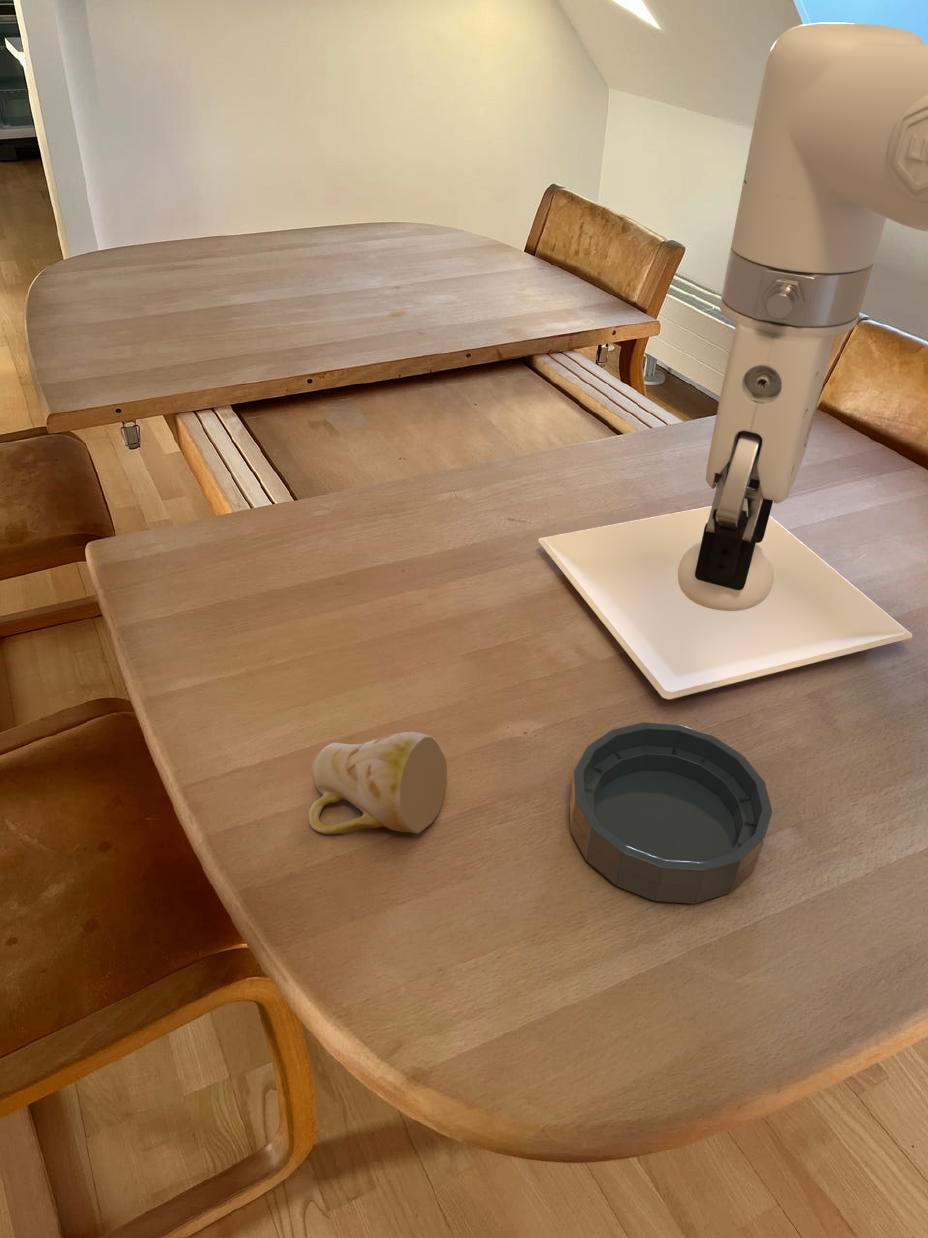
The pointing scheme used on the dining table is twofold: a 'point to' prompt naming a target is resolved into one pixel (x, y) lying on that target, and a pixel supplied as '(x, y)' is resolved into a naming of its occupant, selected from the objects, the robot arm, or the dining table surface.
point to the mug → (382, 782)
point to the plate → (707, 638)
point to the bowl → (668, 812)
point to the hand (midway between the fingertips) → (729, 556)
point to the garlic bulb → (722, 596)
